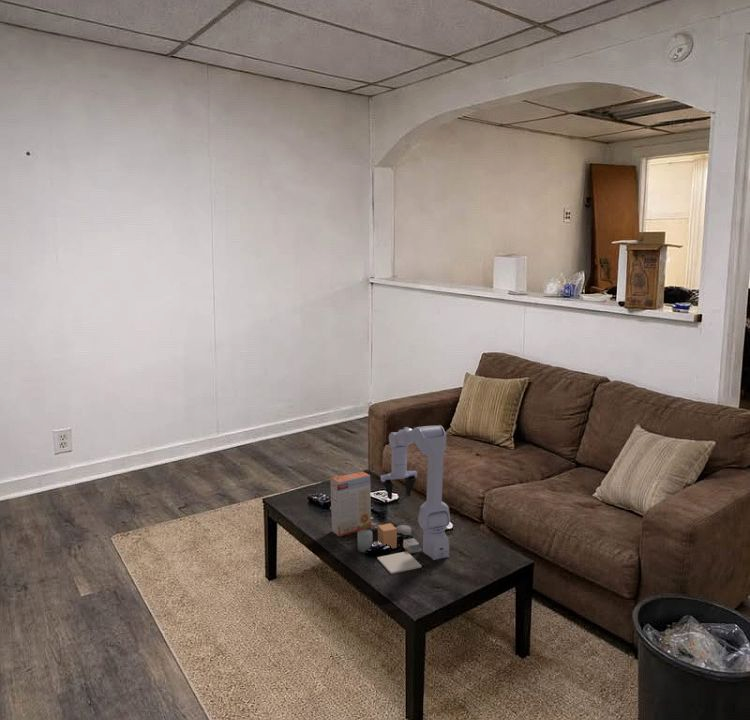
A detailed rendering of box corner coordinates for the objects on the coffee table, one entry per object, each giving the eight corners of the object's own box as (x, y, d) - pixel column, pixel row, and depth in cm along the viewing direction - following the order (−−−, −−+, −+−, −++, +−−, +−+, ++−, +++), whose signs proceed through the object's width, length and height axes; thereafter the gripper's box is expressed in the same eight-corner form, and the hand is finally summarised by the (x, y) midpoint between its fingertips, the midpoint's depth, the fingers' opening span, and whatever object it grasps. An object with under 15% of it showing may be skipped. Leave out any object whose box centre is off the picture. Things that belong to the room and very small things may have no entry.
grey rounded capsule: (374, 550, 216) (374, 534, 215) (360, 553, 214) (360, 537, 213) (369, 544, 220) (369, 528, 219) (355, 547, 218) (355, 530, 217)
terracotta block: (396, 547, 218) (396, 528, 217) (383, 550, 216) (383, 531, 215) (390, 541, 222) (390, 523, 221) (377, 544, 221) (377, 525, 219)
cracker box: (363, 522, 238) (363, 470, 235) (371, 528, 233) (371, 475, 230) (330, 531, 231) (329, 477, 227) (338, 537, 226) (337, 482, 222)
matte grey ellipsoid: (414, 536, 227) (414, 530, 226) (399, 539, 224) (399, 533, 224) (406, 530, 232) (406, 523, 232) (392, 533, 230) (392, 526, 229)
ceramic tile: (421, 567, 204) (421, 565, 204) (390, 574, 200) (390, 572, 200) (406, 552, 214) (406, 551, 214) (377, 558, 210) (377, 557, 210)
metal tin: (419, 552, 215) (419, 544, 214) (408, 554, 214) (408, 545, 213) (413, 546, 219) (413, 538, 219) (403, 547, 218) (403, 539, 218)
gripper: (411, 457, 243) (411, 490, 245) (377, 462, 238) (377, 495, 240) (419, 462, 237) (419, 496, 239) (384, 467, 231) (384, 502, 233)
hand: (399, 496), depth 239 cm, fingers open, 7 cm apart
